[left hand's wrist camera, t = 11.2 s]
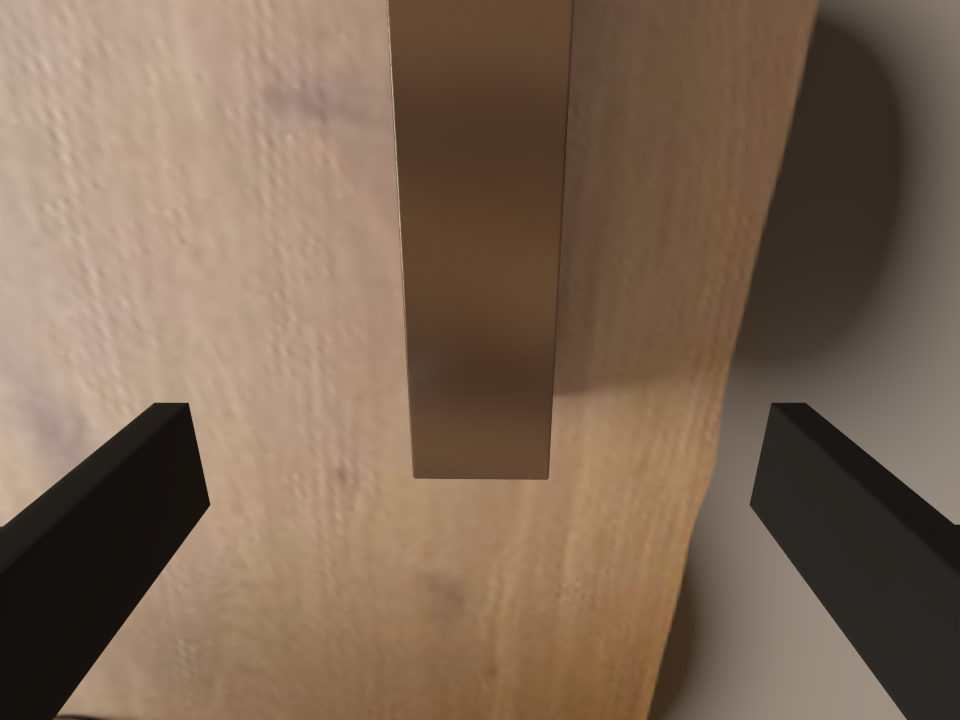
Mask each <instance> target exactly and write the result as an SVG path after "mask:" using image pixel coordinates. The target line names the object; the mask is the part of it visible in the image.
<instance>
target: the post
mask: <svg viewBox="0 0 960 720" xmlns="http://www.w3.org/2000/svg"><path fill="white" fill-rule="evenodd" d="M386 2H387V20H388V38H389V55H390V73H391V91H392V109H393V127H394V145H395V163H396V181H397V199H398V217H399V235H400V252H401V270H402V288H403V306H404V324H405V342H406V360H407V378H408V396H409V414H410V431H411V449H412V467H413V477H414V478H417V479H531V480H547V479H548V477H549V460H550V442H551V423H552V404H553V385H554V367H555V348H556V329H557V310H558V292H559V273H560V254H561V235H562V216H563V198H564V179H565V160H566V141H567V123H568V104H569V85H570V66H571V48H572V29H573V10H574V0H386Z"/></svg>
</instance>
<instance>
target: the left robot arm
mask: <svg viewBox="0 0 960 720" xmlns="http://www.w3.org/2000/svg"><path fill="white" fill-rule="evenodd" d="M209 506H210V501H209V496H208V492H207V487H206V482H205V478H204V473H203V468H202V464H201V459H200V454H199V450H198V445H197V440H196V436H195V431H194V426H193V422H192V417H191V412H190V408H189V403H154V404H152V405H151V406H150V407H149V408H148V409H146V410H145V411H144V412H143V413H141V414H140V415H139V416H138V417H137V418H135V419H134V420H133V421H132V422H130V423H129V424H128V425H127V426H126V427H124V428H123V429H122V430H121V431H119V432H118V433H117V434H116V435H115V436H113V437H112V438H111V439H110V440H108V441H107V442H106V443H105V444H104V445H102V446H101V447H100V448H99V449H97V450H96V451H95V452H94V453H93V454H91V455H90V456H89V457H88V458H86V459H85V460H84V461H83V462H82V463H80V464H79V465H78V466H77V467H75V468H74V469H73V470H72V471H71V472H69V473H68V474H67V475H66V476H64V477H63V478H62V479H61V480H60V481H58V482H57V483H56V484H55V485H53V486H52V487H51V488H50V489H49V490H47V491H46V492H45V493H44V494H42V495H41V496H40V497H39V498H38V499H36V500H35V501H34V502H33V503H31V504H30V505H29V506H28V507H26V508H25V509H24V510H23V511H22V512H20V513H19V514H18V515H17V516H15V517H14V518H13V519H12V520H11V521H9V522H8V523H7V524H6V525H4V526H3V527H0V720H83V719H75V718H55V716H56V715H57V714H58V712H59V711H60V709H61V708H62V707H63V705H64V704H65V703H66V701H67V700H68V699H69V697H70V696H71V694H72V693H73V692H74V690H75V689H76V688H77V686H78V685H79V683H80V682H81V681H82V679H83V678H84V677H85V675H86V674H87V673H88V671H89V670H90V668H91V667H92V666H93V664H94V663H95V662H96V660H97V659H98V658H99V656H100V655H101V653H102V652H103V651H104V649H105V648H106V647H107V645H108V644H109V643H110V641H111V640H112V638H113V637H114V636H115V634H116V633H117V632H118V630H119V629H120V628H121V626H122V625H123V623H124V622H125V621H126V619H127V618H128V617H129V615H130V614H131V613H132V611H133V610H134V608H135V607H136V606H137V604H138V603H139V602H140V600H141V599H142V597H143V596H144V595H145V593H146V592H147V591H148V589H149V588H150V587H151V585H152V584H153V582H154V581H155V580H156V578H157V577H158V576H159V574H160V573H161V572H162V570H163V569H164V567H165V566H166V565H167V563H168V562H169V561H170V559H171V558H172V557H173V555H174V554H175V552H176V551H177V550H178V548H179V547H180V546H181V544H182V543H183V542H184V540H185V539H186V537H187V536H188V535H189V533H190V532H191V531H192V529H193V528H194V527H195V525H196V524H197V522H198V521H199V520H200V518H201V517H202V516H203V514H204V513H205V511H206V510H207V509H208V507H209ZM750 506H751V507H752V509H753V510H754V512H755V513H756V514H757V516H758V517H759V518H760V520H761V521H762V522H763V524H764V525H765V526H766V528H767V529H768V531H769V532H770V533H771V535H772V536H773V537H774V539H775V540H776V542H777V543H778V544H779V546H780V547H781V548H782V550H783V551H784V552H785V554H786V555H787V557H788V558H789V559H790V561H791V562H792V563H793V565H794V566H795V567H796V569H797V570H798V572H799V573H800V574H801V576H802V577H803V578H804V580H805V581H806V582H807V584H808V585H809V586H810V588H811V589H812V591H813V592H814V593H815V595H816V596H817V597H818V599H819V600H820V602H821V603H822V604H823V606H824V607H825V608H826V610H827V611H828V612H829V614H830V615H831V617H832V618H833V619H834V621H835V622H836V623H837V625H838V626H839V628H840V629H841V630H842V632H843V633H844V634H845V636H846V637H847V638H848V640H849V641H850V642H851V644H852V645H853V647H854V648H855V649H856V651H857V652H858V653H859V655H860V656H861V658H862V659H863V660H864V662H865V663H866V664H867V666H868V667H869V668H870V670H871V671H872V672H873V674H874V675H875V677H876V678H877V679H878V681H879V682H880V683H881V685H882V686H883V688H884V689H885V690H886V692H887V693H888V694H889V696H890V697H891V699H892V700H893V701H894V702H895V704H896V705H897V707H898V708H899V709H900V711H901V712H902V714H903V715H904V716H905V718H906V719H907V720H960V525H954V524H953V523H952V522H951V521H949V520H948V519H947V518H946V517H944V516H943V515H942V514H941V513H940V512H938V511H937V510H936V509H935V508H933V507H932V506H931V505H930V504H929V503H927V502H926V501H925V500H924V499H922V498H921V497H920V496H919V495H918V494H916V493H915V492H914V491H913V490H911V489H910V488H909V487H908V486H907V485H905V484H904V483H903V482H902V481H900V480H899V479H898V478H897V477H896V476H894V475H893V474H892V473H891V472H889V471H888V470H887V469H886V468H885V467H883V466H882V465H881V464H880V463H878V462H877V461H876V460H875V459H874V458H872V457H871V456H870V455H869V454H867V453H866V452H865V451H864V450H863V449H861V448H860V447H859V446H858V445H856V444H855V443H854V442H853V441H852V440H850V439H849V438H848V437H847V436H845V435H844V434H843V433H842V432H840V431H839V430H838V429H837V428H836V427H834V426H833V425H832V424H831V423H829V422H828V421H827V420H826V419H825V418H823V417H822V416H821V415H820V414H818V413H817V412H816V411H815V410H814V409H812V408H811V407H810V406H809V405H807V404H806V403H771V408H770V412H769V417H768V422H767V426H766V431H765V436H764V440H763V445H762V450H761V454H760V459H759V464H758V468H757V473H756V478H755V483H754V487H753V492H752V497H751V501H750Z"/></svg>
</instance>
